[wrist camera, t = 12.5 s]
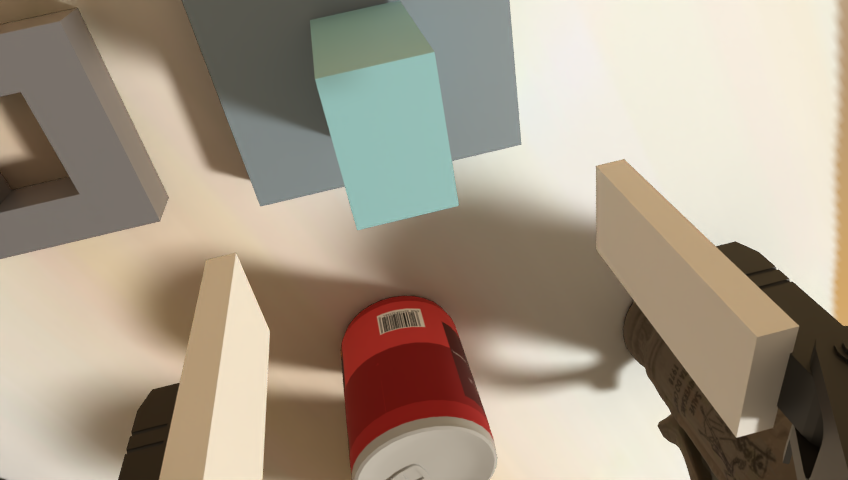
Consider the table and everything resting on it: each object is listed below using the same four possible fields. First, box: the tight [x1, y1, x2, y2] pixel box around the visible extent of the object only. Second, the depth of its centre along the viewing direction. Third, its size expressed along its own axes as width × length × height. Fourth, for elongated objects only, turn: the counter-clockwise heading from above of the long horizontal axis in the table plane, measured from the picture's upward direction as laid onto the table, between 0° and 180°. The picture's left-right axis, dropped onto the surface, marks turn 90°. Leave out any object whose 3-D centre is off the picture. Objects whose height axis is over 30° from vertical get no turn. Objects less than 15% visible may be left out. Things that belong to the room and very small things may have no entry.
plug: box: [310, 0, 459, 230], centre depth 26 cm, size 4×6×11 cm, turn 10°
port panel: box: [182, 0, 521, 206], centre depth 29 cm, size 14×11×2 cm
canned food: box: [341, 296, 497, 480], centre depth 36 cm, size 8×8×11 cm
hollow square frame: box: [0, 8, 169, 259], centre depth 28 cm, size 10×10×2 cm
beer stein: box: [623, 301, 797, 480], centre depth 38 cm, size 15×11×20 cm
